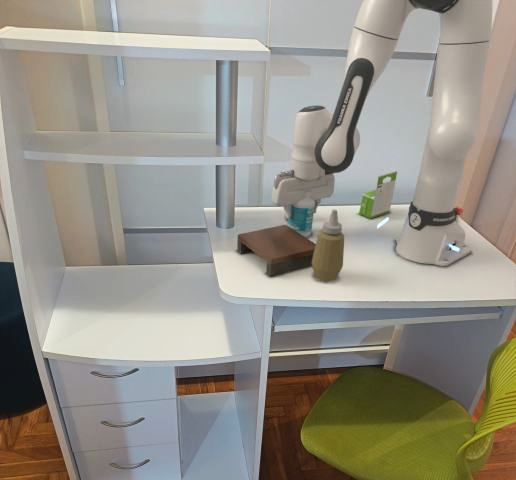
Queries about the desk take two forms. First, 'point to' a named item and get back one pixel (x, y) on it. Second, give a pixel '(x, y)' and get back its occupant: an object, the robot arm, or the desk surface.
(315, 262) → the squeeze bottle
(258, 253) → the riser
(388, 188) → the ink box
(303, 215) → the pill bottle
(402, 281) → the desk surface
